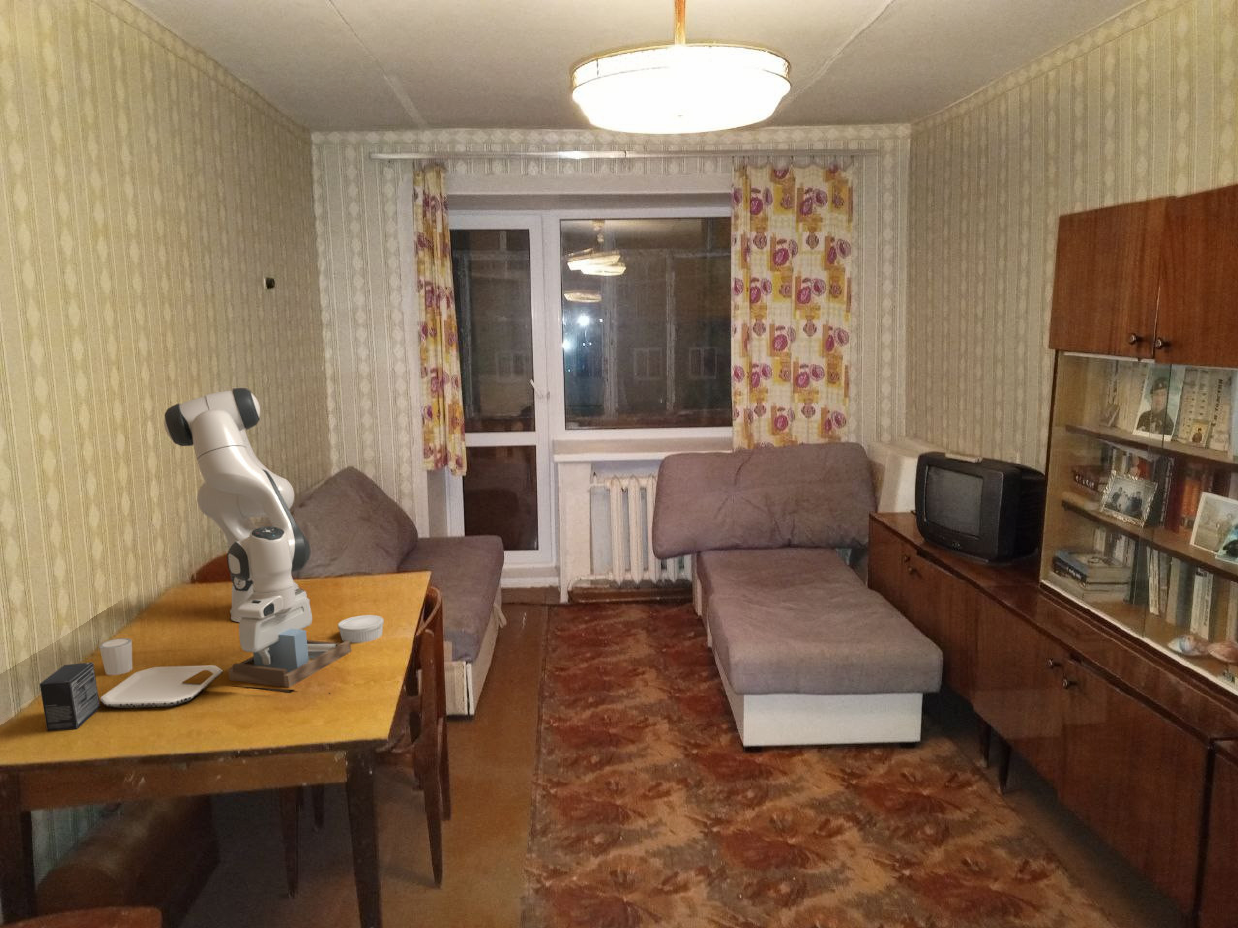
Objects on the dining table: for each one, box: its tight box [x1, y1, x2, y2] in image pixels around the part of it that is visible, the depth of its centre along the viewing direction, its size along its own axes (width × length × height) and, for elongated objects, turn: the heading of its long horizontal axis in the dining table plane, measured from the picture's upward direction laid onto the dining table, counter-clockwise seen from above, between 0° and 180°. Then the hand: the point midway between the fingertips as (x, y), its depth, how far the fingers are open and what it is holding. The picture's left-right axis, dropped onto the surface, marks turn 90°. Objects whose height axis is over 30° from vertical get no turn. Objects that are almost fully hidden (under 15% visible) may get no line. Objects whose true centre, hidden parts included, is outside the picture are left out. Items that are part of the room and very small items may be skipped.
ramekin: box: [337, 614, 385, 644], centre depth 237 cm, size 11×11×5 cm
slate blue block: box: [252, 629, 310, 673], centre depth 214 cm, size 4×12×11 cm, turn 70°
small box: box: [39, 662, 101, 732], centre depth 195 cm, size 11×6×10 cm, turn 5°
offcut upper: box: [307, 644, 336, 660], centre depth 224 cm, size 5×11×2 cm, turn 84°
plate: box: [99, 664, 223, 709], centre depth 209 cm, size 21×21×2 cm
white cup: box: [98, 637, 133, 676], centre depth 223 cm, size 7×7×7 cm
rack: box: [227, 639, 352, 694], centre depth 218 cm, size 23×16×5 cm
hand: (280, 657), depth 214 cm, fingers open, 7 cm apart
